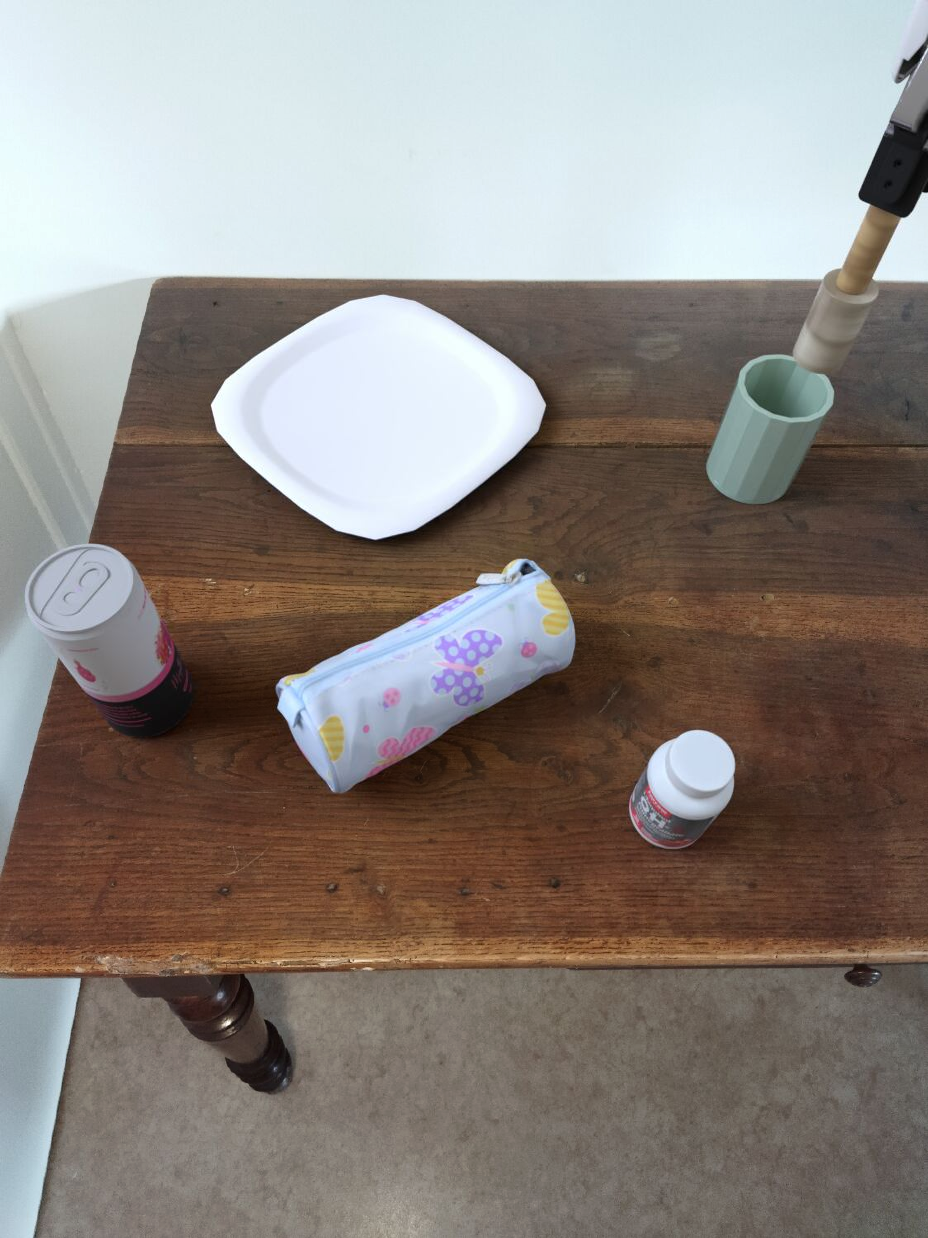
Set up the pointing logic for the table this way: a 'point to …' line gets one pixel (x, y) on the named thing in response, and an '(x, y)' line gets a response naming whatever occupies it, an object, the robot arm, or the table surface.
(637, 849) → the table surface
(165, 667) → the beverage can
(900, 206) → the robot arm
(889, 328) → the table surface
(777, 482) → the cup
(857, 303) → the wooden rod
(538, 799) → the table surface
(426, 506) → the plate
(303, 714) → the pencil case
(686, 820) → the pill bottle
